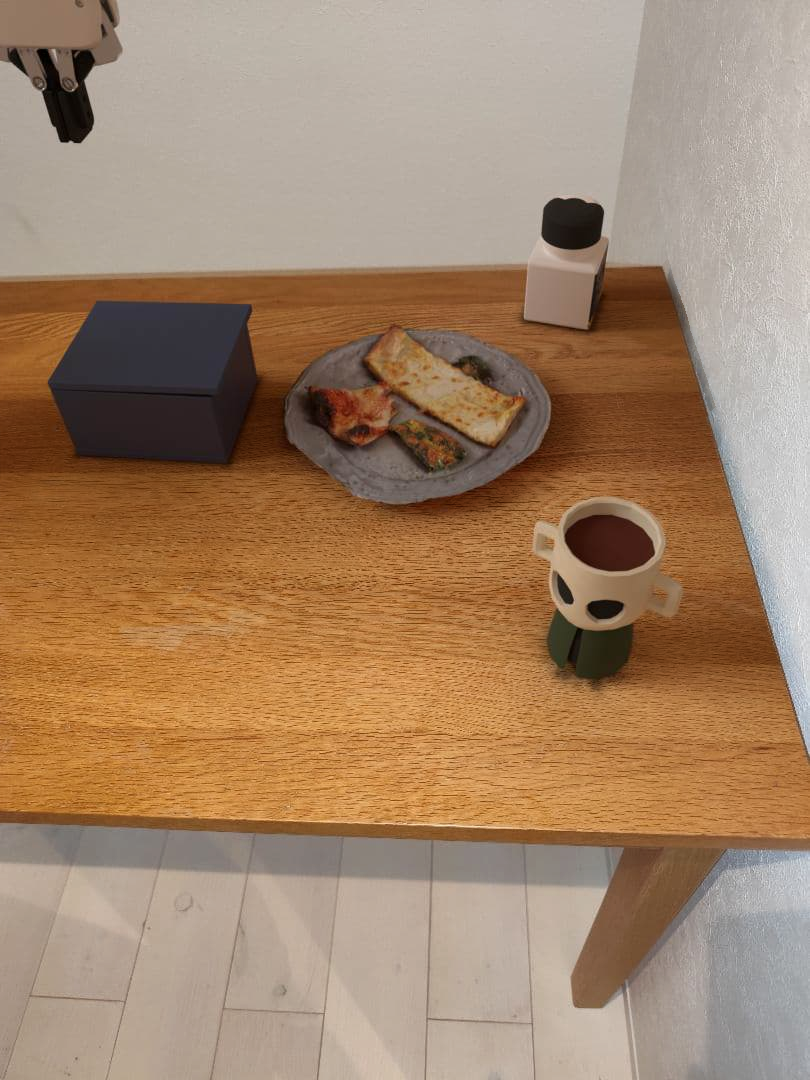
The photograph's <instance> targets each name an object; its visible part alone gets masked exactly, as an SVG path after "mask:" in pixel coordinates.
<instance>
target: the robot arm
mask: <svg viewBox="0 0 810 1080" xmlns="http://www.w3.org/2000/svg"><path fill="white" fill-rule="evenodd" d="M118 5H119V4H118V1H117V0H0V61H1V62H4V63H8V64H10V63H11V64H12V65H13V66H15V67H16V68H17V69H18V70H19V71H20V72H21V73H23V74H24V75H25V76H26V77H28V78H29V81H30V83H31V85H32V87H33V88H34V89H35V90H36V91H39V92H41V95H42V99H43V101H44V104H45V107H46V111H47V114H48V118H49V121H50V123H51V125H52V127H53V128H55V130H56V131H55V132H56V134H57V138H58V140H59V143H61V144H68V143H70V142H72V143H73V144H82V142H84V140H85V139H86V138H87V137H88V136H89V134H90V133H91V132H92V131H93V129H94V128H93V127H94V125H95V116H94V112H93V107H92V104H91V100H90V96H89V93H88V89H87V86H86V85H87V84H86V79H87V78H88V77H89V75H90V73H91V71H92V70H93V68H94V67H99V66H103V65H107V64H111V63H115V62H117V61H118V59H120V57H121V56H122V55H123V53H124V49H123V46H122V44H121V42H120V39H119V37H118V35H117V32H116V31H115V29H116V28H117V27H118V26H119V24H120V19H121V18H120V10H119V7H118ZM53 50H55V55H56V57H55V55H54V51H53Z"/></svg>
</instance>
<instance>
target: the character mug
mask: <svg viewBox="0 0 810 1080" xmlns="http://www.w3.org/2000/svg"><path fill="white" fill-rule="evenodd" d="M532 536H533V538H532V547H531V549H532V553H533V554H534V555H535V556H536V557H538V558H540V559H542V560H544V561H547V562H548V563H550V567H549V568H550V569H549V574H548V575H549V576H548V587H549V592H550V597H551V600H552V601H553V603H554V604H555V607H556V609H555V612H554V615H553V617H552V620H551V623H550V625H549V629H548V632H547V637H546V643H547V649H548V650H547V651H548V654H549V656H550V658H551V659H552V660H553V661H554V663H555V664H556V666H557V667H558V668H559V669H561V670H562V671H565V667H566V664H567V661H569V663H571V664H572V665H575V670H574V671H575V672H574V677H576V678H577V679H583V680H594V681H599V680H602V679H605V678H608V677H612V676H615V675H616V674H617V673H618V672H620V670H621V669H622V668H624V666H626V664H627V663H628V662H629V659H630V655H631V651H632V648H633V638H634V622H635V621H636V620H637V619H638V618H640V617H641V616H642V615H643V614H645V612H646V611H647V610H650V611H652V612H654V613H656V614H658V615H661V616H663V617H666V618H672V617H674V616H675V615H677V613H678V610H679V607H680V604H681V601H682V598H683V595H684V588H683V584H682V583H681V582H680V581H678V580H676V579H674V578H672V577H670V576H667V575H665V574H663V573H661V572H660V570H661V565H662V562H663V559H664V555H665V551H666V549H667V547H666V546H667V540H666V536H665V531H664V527H663V525H662V524H661V522H659V520H658V519H657V518H656V516H655V515H654V514H653V513H652V512H651V511H649V510H648V509H646V508H645V507H643V506H641V505H639V504H638V503H637V502H635V501H631V500H627V499H623V498H619V497H616V496H601V497H600V496H599V497H598V496H596V497H591V498H588V499H585V500H582V501H579V502H575V503H574V504H573V505H572V506H571V507H570V508H568V509H567V510H566V511H564V512H563V513H562V515H561V517H560V520H559V523H558V525H555V524H553V523H551V522H549V521H547V520H538V521H536V523H535V525H534V529H533V535H532ZM547 539H549V540H551V541H553V547H551V546H549V545H548V544H547ZM655 588H656V589H658V590H659V591H662V592H664V593H665V594H666V596H665V599H663V598H660V597H659V596H656V595H654V591H655Z"/></svg>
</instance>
